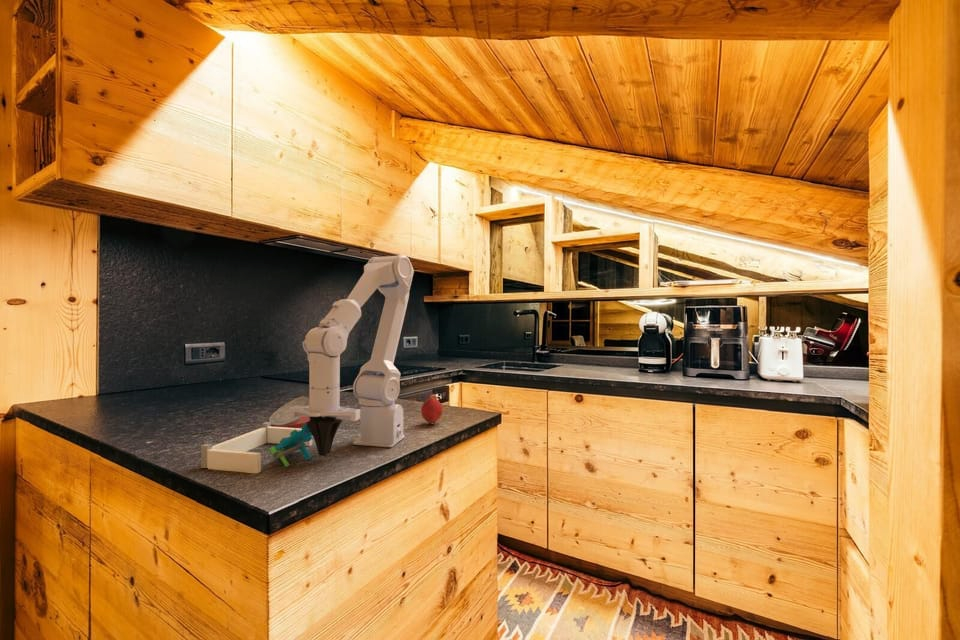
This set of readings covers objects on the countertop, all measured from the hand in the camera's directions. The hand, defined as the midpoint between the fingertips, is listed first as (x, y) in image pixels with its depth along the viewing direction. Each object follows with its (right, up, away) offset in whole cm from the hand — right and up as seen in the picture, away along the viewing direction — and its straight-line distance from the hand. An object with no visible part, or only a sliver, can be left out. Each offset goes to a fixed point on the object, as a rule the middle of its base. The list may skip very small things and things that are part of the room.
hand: (324, 453), depth 81 cm
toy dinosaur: (-7, -2, +1) cm, 7 cm away
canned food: (-17, -2, +21) cm, 27 cm away
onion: (+18, -1, +28) cm, 34 cm away
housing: (-15, -1, +3) cm, 15 cm away
